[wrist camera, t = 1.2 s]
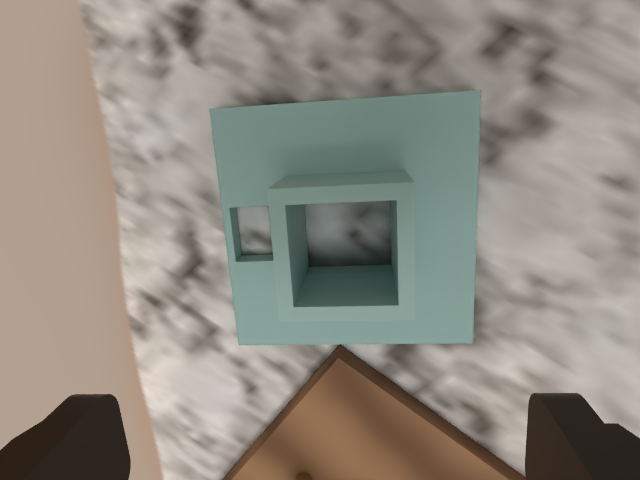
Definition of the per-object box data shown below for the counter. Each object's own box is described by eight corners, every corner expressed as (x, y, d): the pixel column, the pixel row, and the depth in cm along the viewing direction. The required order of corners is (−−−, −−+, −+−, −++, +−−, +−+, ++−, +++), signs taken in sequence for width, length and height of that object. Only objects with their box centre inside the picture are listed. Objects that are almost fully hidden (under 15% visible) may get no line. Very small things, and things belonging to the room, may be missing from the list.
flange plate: (474, 91, 21) (510, 82, 16) (467, 333, 25) (495, 390, 19) (217, 109, 23) (173, 106, 18) (244, 335, 26) (213, 389, 21)
